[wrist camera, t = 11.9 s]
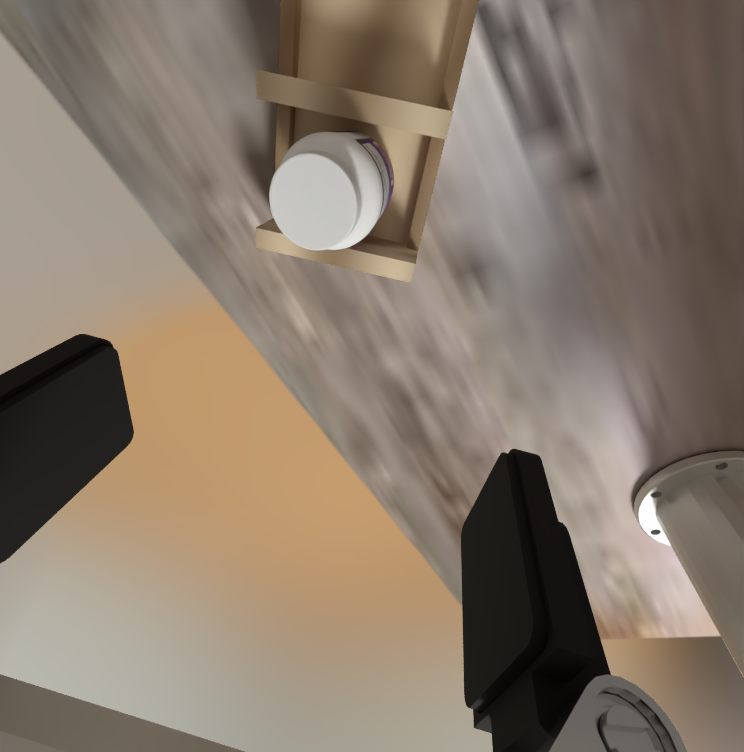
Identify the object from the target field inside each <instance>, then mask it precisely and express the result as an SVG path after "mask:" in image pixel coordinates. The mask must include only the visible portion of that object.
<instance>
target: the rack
mask: <svg viewBox="0 0 744 752" xmlns="http://www.w3.org/2000/svg"><path fill="white" fill-rule="evenodd" d="M478 2H479V0H280V26H279V58H278V74H276V73H271V72H266V71H262V70H257V99H261V100H265V101H270V102H275V103H277V123H276V155H275V172H276V170H277V169H278V168H279V166H280V165H281V162H282V160H283V158H284V156H285V155H286V153H287V152H288V150H289V149H290V148H291V147H292V146H293V145H294V144H295V143H296V142H297V141H299V140H300V139H302V138H304V137H306V136H308V135H311V134H314V133H318V132H326V131H355V132H360V133H364V134H366V135H368V136H370V137H372V138H373V139H375V140H376V141H377V142H378V143H380V145H381V146H382V147H383V148H384V149H385V151H386V152H387V154H388V156H389V158H390V160H391V163H392V166H393V171H394V189H393V194H392V197H391V200H390V202H389V204H388V206H387V208H386V209H385V211H384V212H383V214H382V215H381V217H380V218H379V220H378V221H377V223H376V224H375V226H374V227H373V229H372V230H371V231H370V232H369V233H368V235H367V236H366V237H364V238H363V239H362V240H361V241H359V242H358V243H356V244H355V245H353V246H350V247H348V248H344V249H339V250H328V249H326V250H310V249H306V248H303V247H300V246H299V245H297V244H295V243H293V242H292V241H291V240H289V239H288V238H287V237H286V236H285V235H284V234H283V233H282V231H281V230H280V229H279V227H278V226H277V224H276V222H275V220H274V218H273V219H271V220H269V221H267V222H266V223H264V224H262V225H260V226H258V227H256V248H260V249H265V250H269V251H274V252H278V253H282V254H287V255H291V256H296V257H300V258H304V259H309V260H313V261H318V262H322V263H326V264H331V265H335V266H340V267H344V268H348V269H353V270H357V271H362V272H366V273H370V274H375V275H379V276H384V277H388V278H392V279H397V280H401V281H406V282H410V283H411V280H412V276H413V272H414V268H415V264H416V259H417V253H418V249H419V245H420V240H421V236H422V232H423V228H424V224H425V220H426V216H427V212H428V207H429V203H430V199H431V195H432V191H433V187H434V183H435V179H436V175H437V170H438V166H439V162H440V158H441V154H442V150H443V146H444V142H445V139H446V137H447V133H448V129H449V125H450V121H451V117H452V113H453V111H452V109H453V105H454V101H455V96H456V92H457V88H458V84H459V80H460V76H461V72H462V68H463V64H464V59H465V55H466V51H467V47H468V43H469V39H470V35H471V31H472V27H473V22H474V18H475V14H476V10H477V6H478Z"/></svg>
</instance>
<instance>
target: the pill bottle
mask: <svg viewBox="0 0 744 752" xmlns="http://www.w3.org/2000/svg"><path fill="white" fill-rule="evenodd" d="M393 189H394V171H393V166H392V163H391V160H390V158H389V156H388V154H387V152H386V151H385V149H384V148H383V147H382V146H381V145H380V143H378V142H377V141H376V140H375V139H373V138H372V137H370V136H368V135H366V134H364V133H360V132H355V131H326V132H318V133H314V134H311V135H308V136H306V137H304V138H302V139H300V140H299V141H297V142H296V143H295V144H294V145H293V146H292V147H291V148H290V149H289V150H288V152H287V153H286V155H285V156H284V158H283V160H282V162H281V165H280V166H279V168H278V169H277V170H276V172H275V174H274V176H273V178H272V181H271V185H270V190H269V201H270V209H271V212H272V215H273V218H274V220H275V222H276V224H277V226H278V227H279V229H280V230H281V231H282V233H283V234H284V235H285V236H286V237H287V238H288V239H289V240H291V241H292V242H293V243H295V244H297V245H299V246H300V247H303V248H306V249H310V250H326V249H328V250H339V249H344V248H348V247H350V246H353V245H355V244H356V243H358V242H359V241H361V240H362V239H363V238H364V237H366V236H367V235H368V233H369V232H370V231H371V230H372V229H373V227H374V226H375V224H376V223H377V221H378V220H379V218H380V217H381V215H382V214H383V212H384V211H385V209H386V208H387V206H388V204H389V202H390V200H391V197H392V194H393Z"/></svg>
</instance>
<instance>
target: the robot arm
mask: <svg viewBox="0 0 744 752" xmlns="http://www.w3.org/2000/svg"><path fill="white" fill-rule="evenodd" d="M133 434H134V431H133V425H132V420H131V416H130V411H129V405H128V401H127V396H126V391H125V386H124V381H123V376H122V371H121V366H120V361H119V356H118V353H117V351H116V350H115V349H114V348H113V345H112V344H111V343H110V342H109V341H107V340H105V339H101V338H97V337H94V336H90V335H86V334H79V335H76V336H74V337H72V338H70V339H69V340H66V341H64V342H63V343H61V344H59V345H57V346H55V347H53V348H51V349H49V350H47V351H45V352H43V353H41V354H40V355H38V356H36V357H34V358H32V359H30V360H28V361H26V362H24V363H22V364H20V365H18V366H17V367H15V368H13V369H11V370H9V371H7V372H5V373H3V374H1V375H0V563H2V562H3V561H5V560H6V559H8V558H9V557H10V556H11V555H12V554H13V553H15V552H16V551H17V550H18V549H19V548H20V547H21V546H22V545H23V544H24V543H25V542H26V541H27V540H28V539H29V538H30V537H31V536H32V535H34V534H35V532H37V531H38V530H39V529H40V528H41V527H42V526H43V525H44V524H45V523H46V522H47V521H48V520H49V519H51V518H52V517H53V516H54V515H55V514H56V513H57V512H58V511H59V510H60V509H61V508H62V507H63V506H64V505H65V504H66V503H68V501H70V500H71V499H72V498H73V497H74V496H75V495H76V494H77V493H78V492H79V491H80V490H81V489H82V488H83V487H85V486H86V485H87V484H88V483H89V482H90V481H91V480H92V479H93V478H94V477H95V476H96V475H97V474H98V473H99V472H100V471H101V470H103V469H104V468H105V467H106V466H107V465H108V464H109V463H110V462H111V461H112V460H113V459H114V458H115V457H116V456H117V455H118V454H119V453H120V452H122V451H123V450H124V449H125V448H126V447H127V446H128V444H129V443H130V442H131V440H132V438H133ZM634 513H635V516H636V519H637V521H638V522H639V524H640V526H641V528H642V530H643V531H644V532H645V533H646V534H647V535H648V536H650V537H651V538H653V539H655V540H656V541H658V542H661V543H663V544H666V545H668V546H671V547H672V548H673V550H674V552H675V554H676V556H677V557H678V559H679V561H680V563H681V565H682V566H683V568H684V570H685V572H686V574H687V576H688V577H689V579H690V581H691V583H692V585H693V586H694V588H695V590H696V592H697V594H698V596H699V597H700V599H701V601H702V603H703V605H704V606H705V608H706V610H707V612H708V614H709V615H710V617H711V619H712V621H713V623H714V625H715V626H716V628H717V630H718V632H719V634H720V635H721V637H722V639H723V641H724V643H725V644H726V646H727V648H728V650H729V652H730V654H731V655H732V657H733V659H734V661H735V663H736V664H737V666H738V668H739V670H740V672H741V673H742V675H743V677H744V451H719V452H712V453H706V454H701V455H697V456H693V457H690V458H686V459H684V460H681V461H679V462H676V463H674V464H672V465H670V466H668V467H666V468H664V469H662V470H661V471H659V472H658V473H656V474H655V475H654V476H652V477H651V478H650V479H649V480H648V481H647V482H646V483H645V484H644V485H643V486H642V487H641V489H640V490H639V492H638V494H637V495H636V498H635V502H634ZM461 558H462V605H463V649H464V650H463V651H464V694H465V702H466V705H467V707H468V708H471V709H473V715H474V728H476V729H480V730H483V731H486V732H490V733H492V743H493V752H687V750H686V748H685V746H684V744H683V741H682V739H681V737H680V735H679V733H678V732H677V730H676V728H675V727H674V725H673V724H672V723H671V721H670V719H669V718H668V716H667V715H666V713H665V712H664V711H663V710H662V709H661V708H660V707H659V706H658V704H656V702H655V701H654V700H653V699H652V698H651V697H650V696H649V695H647V694H646V693H645V692H644V691H643V690H641V689H640V688H639V687H638V686H637V685H635V684H633V683H631V682H629V681H627V680H625V679H623V678H621V677H617V676H612V675H611V674H610V671H609V667H608V664H607V660H606V657H605V654H604V650H603V647H602V644H601V640H600V637H599V633H598V630H597V627H596V623H595V620H594V616H593V613H592V610H591V606H590V603H589V599H588V596H587V593H586V589H585V586H584V582H583V579H582V576H581V572H580V569H579V566H578V562H577V559H576V555H575V552H574V549H573V545H572V542H571V538H570V535H569V533H568V530H567V528H566V527H565V525H564V524H563V523H561V522H558V518H557V515H556V511H555V507H554V504H553V500H552V497H551V493H550V489H549V486H548V482H547V478H546V475H545V471H544V468H543V464H542V460H541V458H540V456H538V455H536V454H532V453H528V452H525V451H521V450H517V449H512V450H510V452H509V453H508V454H507V453H501V454H500V456H499V458H498V460H497V461H496V463H495V465H494V467H493V469H492V471H491V473H490V475H489V477H488V479H487V481H486V482H485V484H484V486H483V488H482V490H481V492H480V494H479V496H478V498H477V500H476V502H475V503H474V505H473V507H472V509H471V511H470V513H469V515H468V517H467V519H466V521H465V523H464V525H463V528H462V534H461ZM0 752H244V751H241V750H238V749H235V748H231V747H228V746H225V745H222V744H219V743H216V742H212V741H209V740H206V739H203V738H200V737H197V736H194V735H191V734H188V733H184V732H181V731H178V730H175V729H172V728H169V727H166V726H162V725H159V724H156V723H153V722H150V721H147V720H143V719H140V718H137V717H134V716H131V715H128V714H124V713H121V712H118V711H115V710H112V709H109V708H105V707H102V706H99V705H96V704H93V703H90V702H86V701H83V700H80V699H77V698H74V697H70V696H67V695H64V694H61V693H57V692H55V691H51V690H48V689H45V688H42V687H39V686H35V685H32V684H29V683H26V682H22V681H19V680H16V679H13V678H10V677H7V676H4V675H0Z"/></svg>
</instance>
